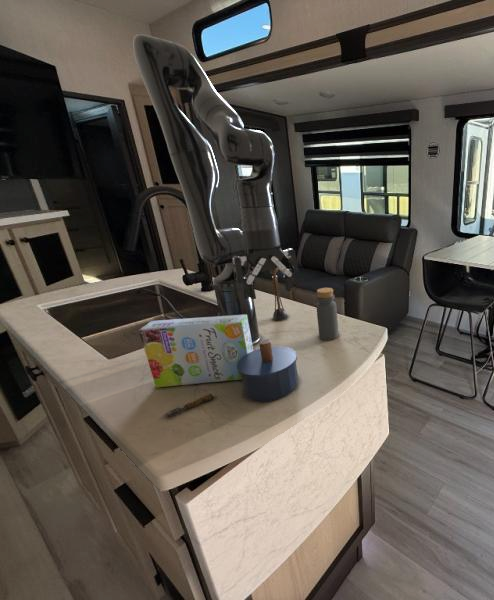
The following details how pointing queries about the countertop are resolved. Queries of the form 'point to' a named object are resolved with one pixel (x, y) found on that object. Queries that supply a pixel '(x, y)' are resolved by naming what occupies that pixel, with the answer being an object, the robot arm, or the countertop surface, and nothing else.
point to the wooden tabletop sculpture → (280, 312)
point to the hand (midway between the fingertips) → (271, 294)
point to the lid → (266, 360)
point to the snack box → (196, 349)
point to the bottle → (327, 314)
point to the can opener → (191, 404)
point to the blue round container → (270, 385)
